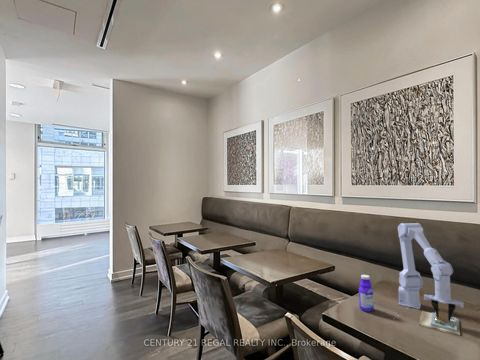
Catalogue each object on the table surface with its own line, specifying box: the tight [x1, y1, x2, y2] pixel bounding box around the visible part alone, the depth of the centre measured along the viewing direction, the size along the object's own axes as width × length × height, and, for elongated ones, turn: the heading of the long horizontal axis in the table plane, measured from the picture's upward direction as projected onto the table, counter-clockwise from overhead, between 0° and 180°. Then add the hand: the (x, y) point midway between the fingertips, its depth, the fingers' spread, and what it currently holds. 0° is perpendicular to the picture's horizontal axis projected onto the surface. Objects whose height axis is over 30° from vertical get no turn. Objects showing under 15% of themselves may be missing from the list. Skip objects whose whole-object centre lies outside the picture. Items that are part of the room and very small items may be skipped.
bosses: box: [434, 311, 442, 324], centre depth 124 cm, size 3×11×3 cm, turn 142°
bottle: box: [358, 274, 375, 312], centre depth 138 cm, size 7×6×17 cm
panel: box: [431, 308, 457, 332], centre depth 122 cm, size 9×13×5 cm
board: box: [418, 310, 461, 336], centre depth 123 cm, size 14×16×1 cm
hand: (443, 318), depth 122 cm, fingers closed on panel, 3 cm apart
